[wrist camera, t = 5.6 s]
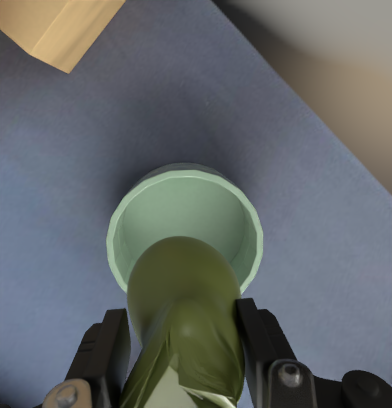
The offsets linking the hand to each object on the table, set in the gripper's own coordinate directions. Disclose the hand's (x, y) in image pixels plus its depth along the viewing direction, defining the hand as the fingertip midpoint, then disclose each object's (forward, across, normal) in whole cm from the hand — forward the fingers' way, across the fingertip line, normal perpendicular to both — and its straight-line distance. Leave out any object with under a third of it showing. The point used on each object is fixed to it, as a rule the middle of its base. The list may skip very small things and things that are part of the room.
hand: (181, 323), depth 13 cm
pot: (+21, 0, +3) cm, 21 cm away
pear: (+6, 0, 0) cm, 6 cm away
